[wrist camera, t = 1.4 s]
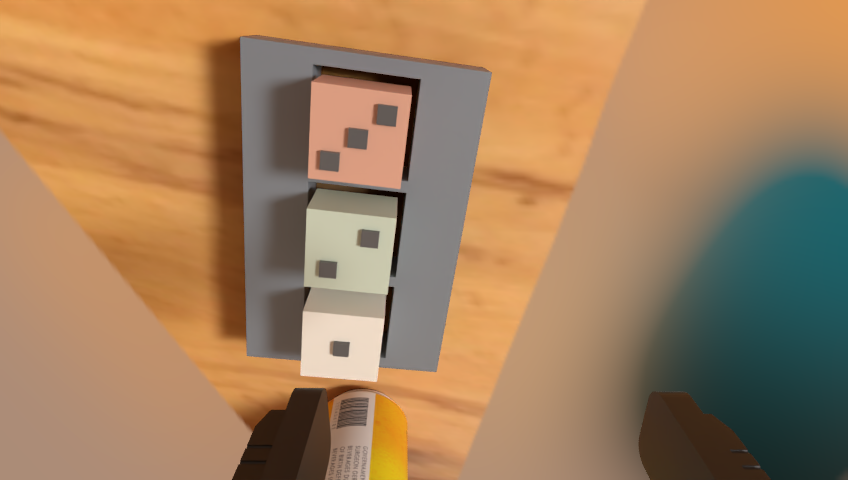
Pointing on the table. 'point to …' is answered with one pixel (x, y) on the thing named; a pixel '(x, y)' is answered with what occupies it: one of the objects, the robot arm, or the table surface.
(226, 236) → the table surface
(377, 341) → the tile one cream
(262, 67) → the slate board
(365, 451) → the beer can
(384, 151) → the tile three terracotta
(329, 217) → the tile two sage
